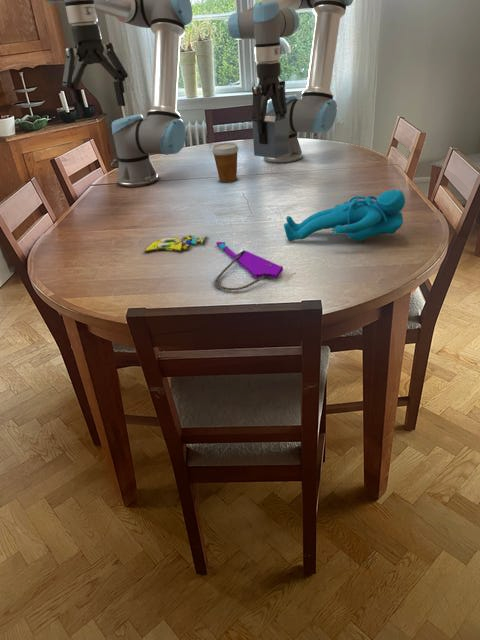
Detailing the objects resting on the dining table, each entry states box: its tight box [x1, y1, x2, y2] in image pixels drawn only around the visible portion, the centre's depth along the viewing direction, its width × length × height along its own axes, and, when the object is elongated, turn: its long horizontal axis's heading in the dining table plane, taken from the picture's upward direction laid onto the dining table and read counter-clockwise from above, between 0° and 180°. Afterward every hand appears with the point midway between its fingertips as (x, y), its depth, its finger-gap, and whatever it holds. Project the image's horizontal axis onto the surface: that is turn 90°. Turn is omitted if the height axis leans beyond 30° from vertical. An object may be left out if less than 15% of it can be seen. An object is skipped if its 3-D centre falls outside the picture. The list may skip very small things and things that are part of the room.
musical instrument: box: [214, 241, 284, 291], centre depth 115 cm, size 24×2×20 cm
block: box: [251, 115, 289, 159], centre depth 157 cm, size 7×9×11 cm
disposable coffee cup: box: [211, 142, 239, 183], centre depth 173 cm, size 10×10×12 cm
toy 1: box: [144, 234, 207, 254], centre depth 130 cm, size 10×1×15 cm
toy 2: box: [283, 189, 406, 243], centre depth 123 cm, size 17×11×30 cm
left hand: (102, 110), depth 139 cm, fingers open, 13 cm apart
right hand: (271, 140), depth 158 cm, fingers closed on block, 7 cm apart
